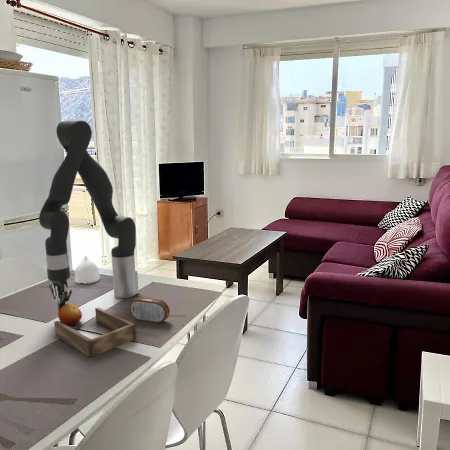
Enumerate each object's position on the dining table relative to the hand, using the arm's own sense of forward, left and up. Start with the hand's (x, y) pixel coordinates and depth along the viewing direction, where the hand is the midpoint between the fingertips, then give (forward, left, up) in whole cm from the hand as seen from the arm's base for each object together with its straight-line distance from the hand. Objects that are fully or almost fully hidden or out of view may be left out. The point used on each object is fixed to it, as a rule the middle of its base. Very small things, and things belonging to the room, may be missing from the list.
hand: (62, 311), depth 156 cm
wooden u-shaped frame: (0, +22, -3) cm, 22 cm away
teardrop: (-30, -34, -3) cm, 46 cm away
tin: (-20, +25, -3) cm, 32 cm away
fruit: (0, +6, -3) cm, 7 cm away
